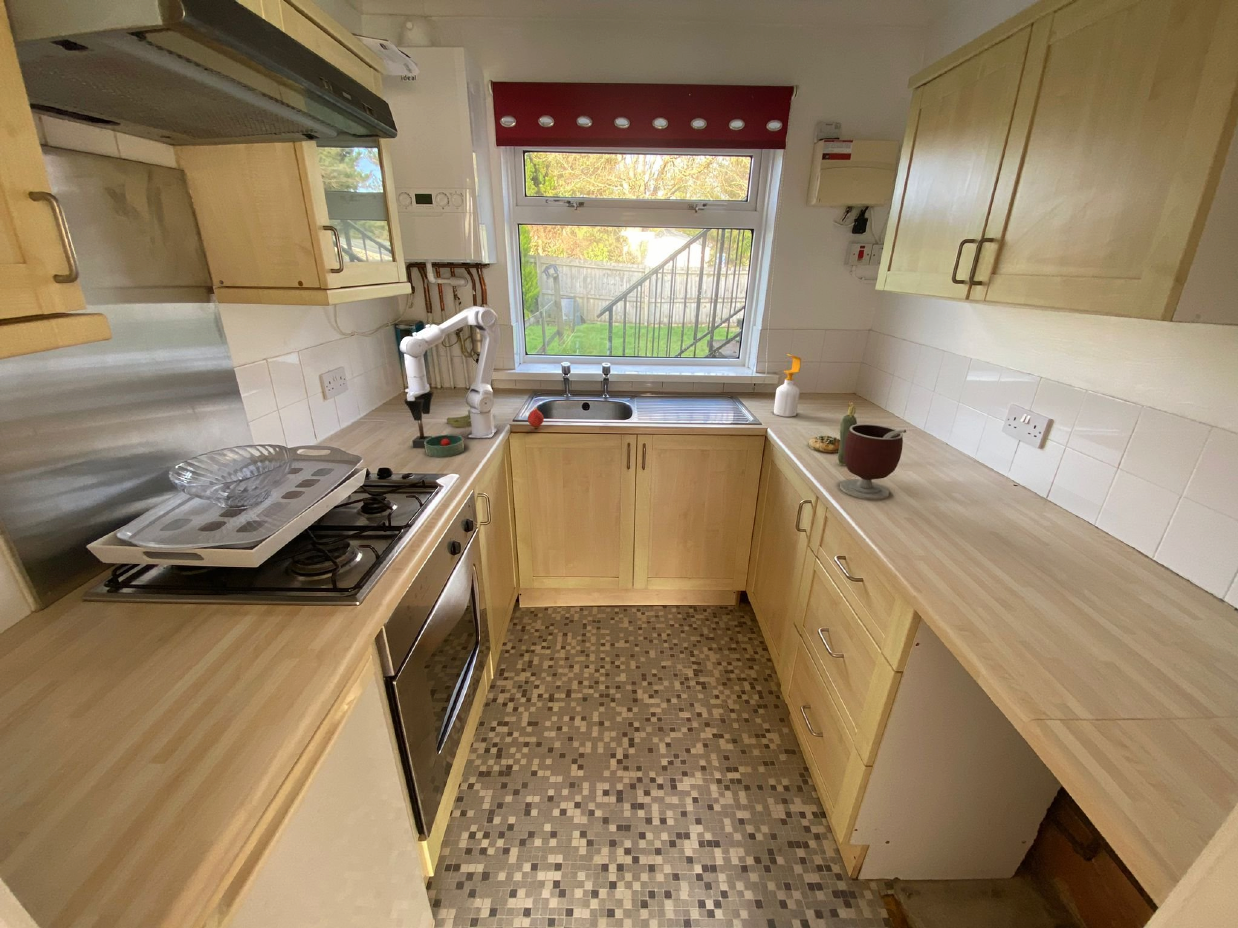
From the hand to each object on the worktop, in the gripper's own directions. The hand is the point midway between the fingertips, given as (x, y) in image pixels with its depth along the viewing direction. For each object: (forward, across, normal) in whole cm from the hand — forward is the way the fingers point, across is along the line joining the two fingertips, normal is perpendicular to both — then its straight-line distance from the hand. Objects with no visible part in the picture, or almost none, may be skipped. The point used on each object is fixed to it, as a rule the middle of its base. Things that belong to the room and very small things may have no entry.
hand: (422, 417), depth 166 cm
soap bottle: (+10, -43, +134) cm, 141 cm away
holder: (+10, -2, -2) cm, 11 cm away
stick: (+10, -2, -2) cm, 11 cm away
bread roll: (+10, -1, +134) cm, 135 cm away
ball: (+8, +2, +7) cm, 11 cm away
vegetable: (+10, +15, +133) cm, 135 cm away
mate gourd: (+10, +34, +132) cm, 137 cm away
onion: (+11, -21, +34) cm, 41 cm away
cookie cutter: (+10, -30, +7) cm, 33 cm away
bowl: (+10, +4, +7) cm, 13 cm away
